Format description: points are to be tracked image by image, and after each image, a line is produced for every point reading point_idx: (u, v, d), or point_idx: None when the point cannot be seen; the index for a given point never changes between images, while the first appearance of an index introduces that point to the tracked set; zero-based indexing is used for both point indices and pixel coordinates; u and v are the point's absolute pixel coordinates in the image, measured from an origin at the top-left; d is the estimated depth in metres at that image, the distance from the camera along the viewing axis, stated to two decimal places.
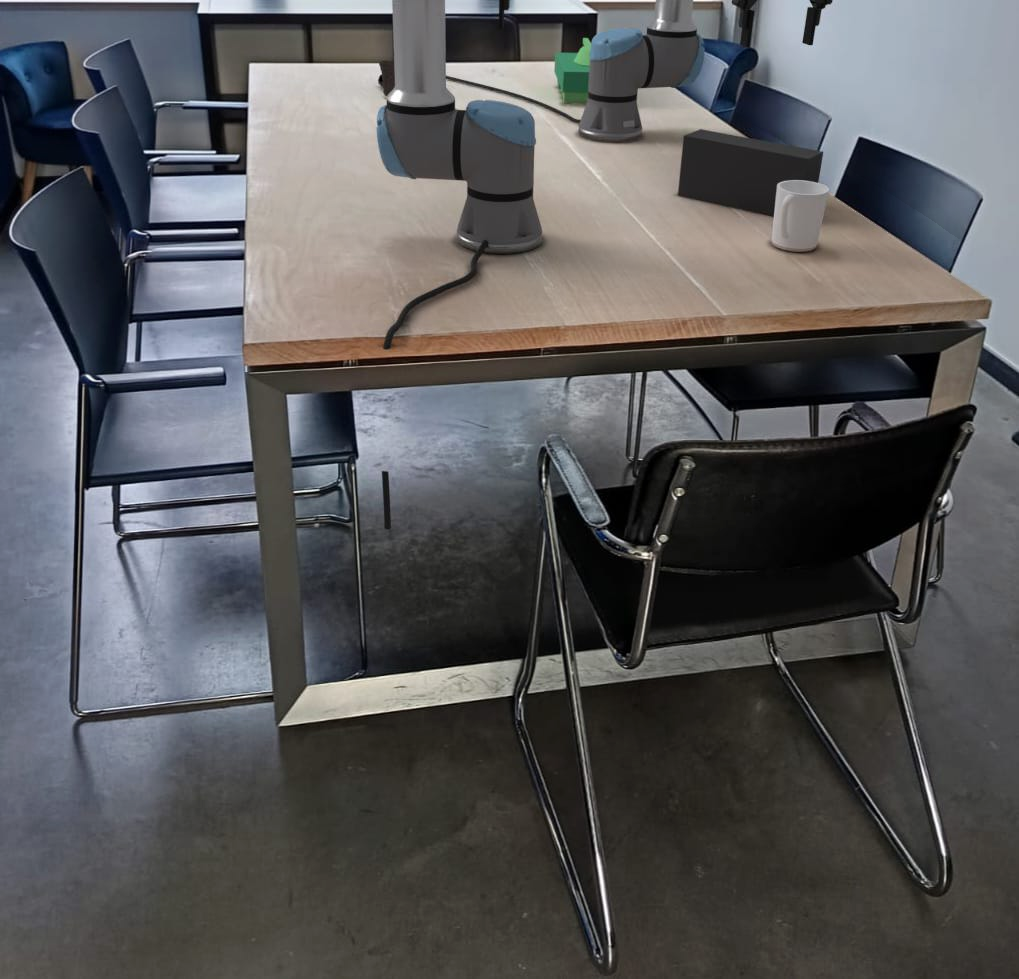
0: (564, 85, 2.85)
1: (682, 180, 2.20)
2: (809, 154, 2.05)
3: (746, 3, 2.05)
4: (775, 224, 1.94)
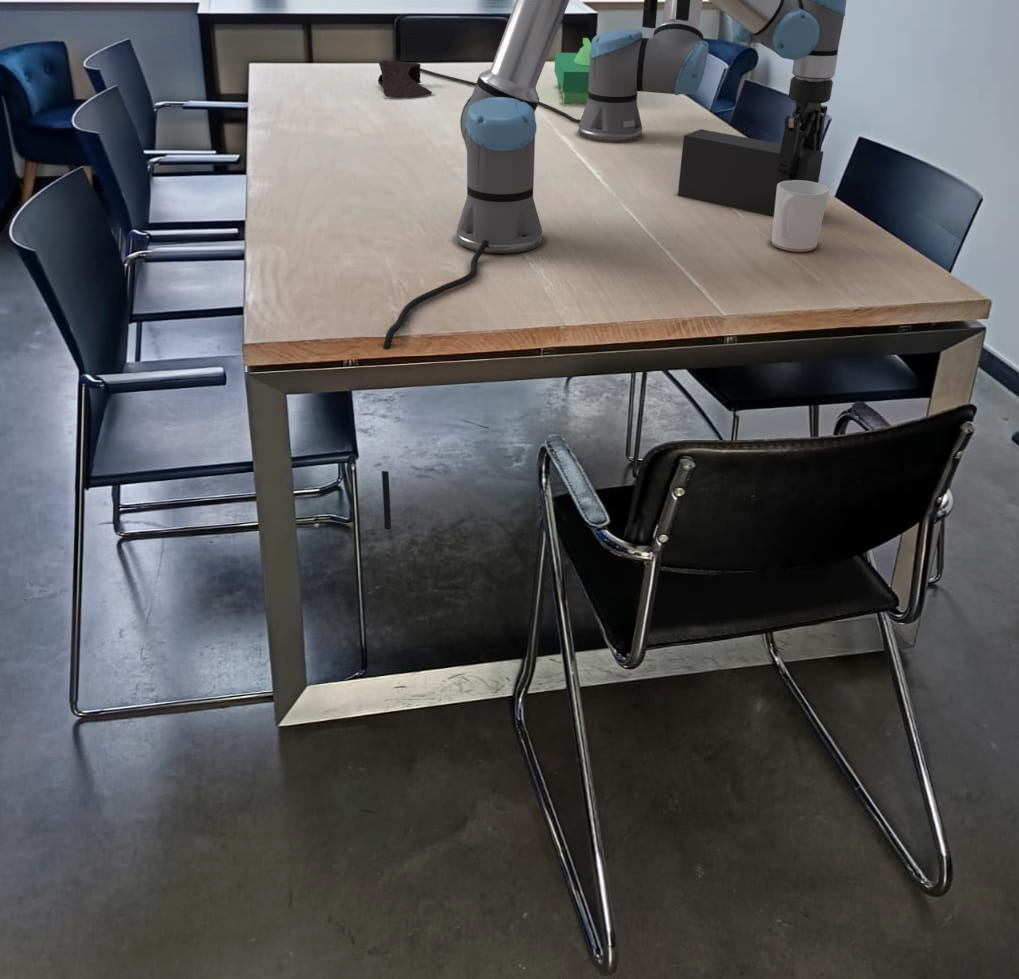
0: (564, 85, 2.85)
1: (682, 180, 2.20)
2: (809, 154, 2.05)
3: None
4: (775, 224, 1.94)
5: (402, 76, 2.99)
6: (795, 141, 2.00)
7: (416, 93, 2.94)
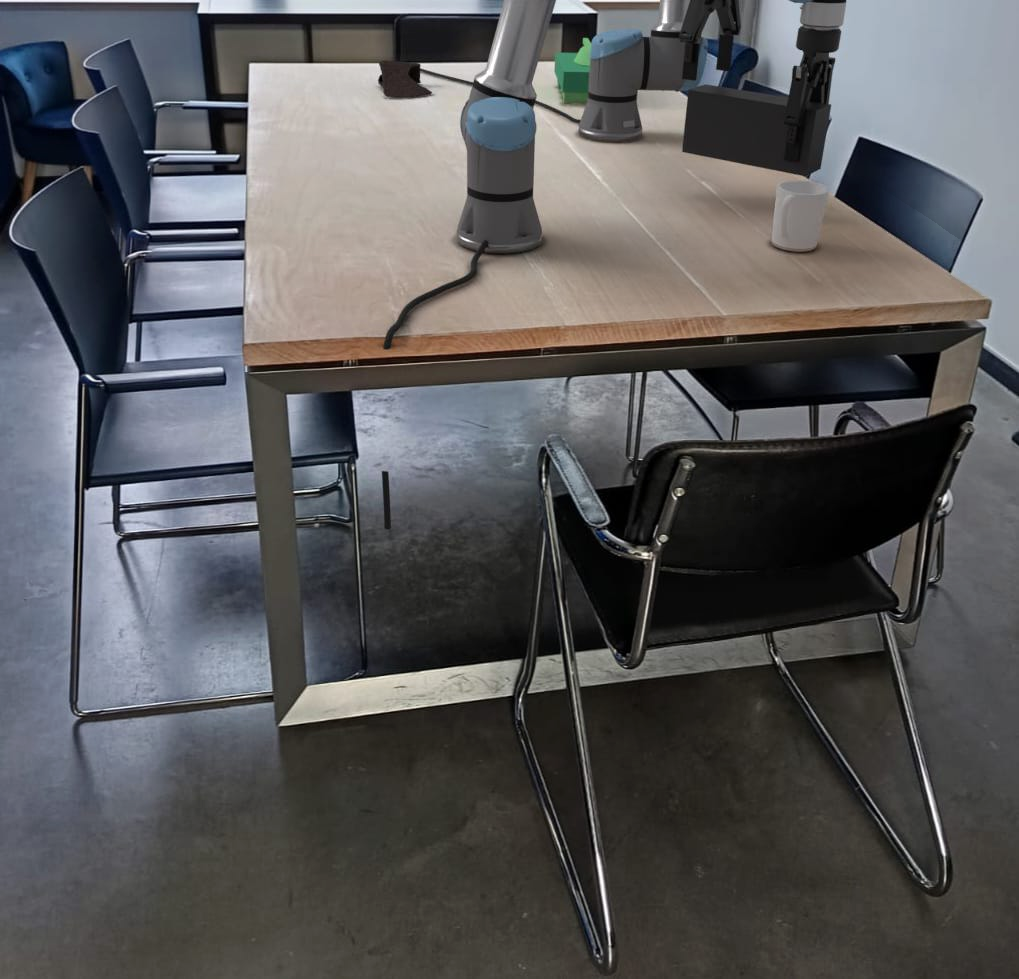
0: (564, 85, 2.85)
1: (686, 136, 2.15)
2: (817, 106, 2.00)
3: None
4: (775, 224, 1.94)
5: (402, 76, 2.99)
6: (803, 92, 1.95)
7: (416, 93, 2.94)
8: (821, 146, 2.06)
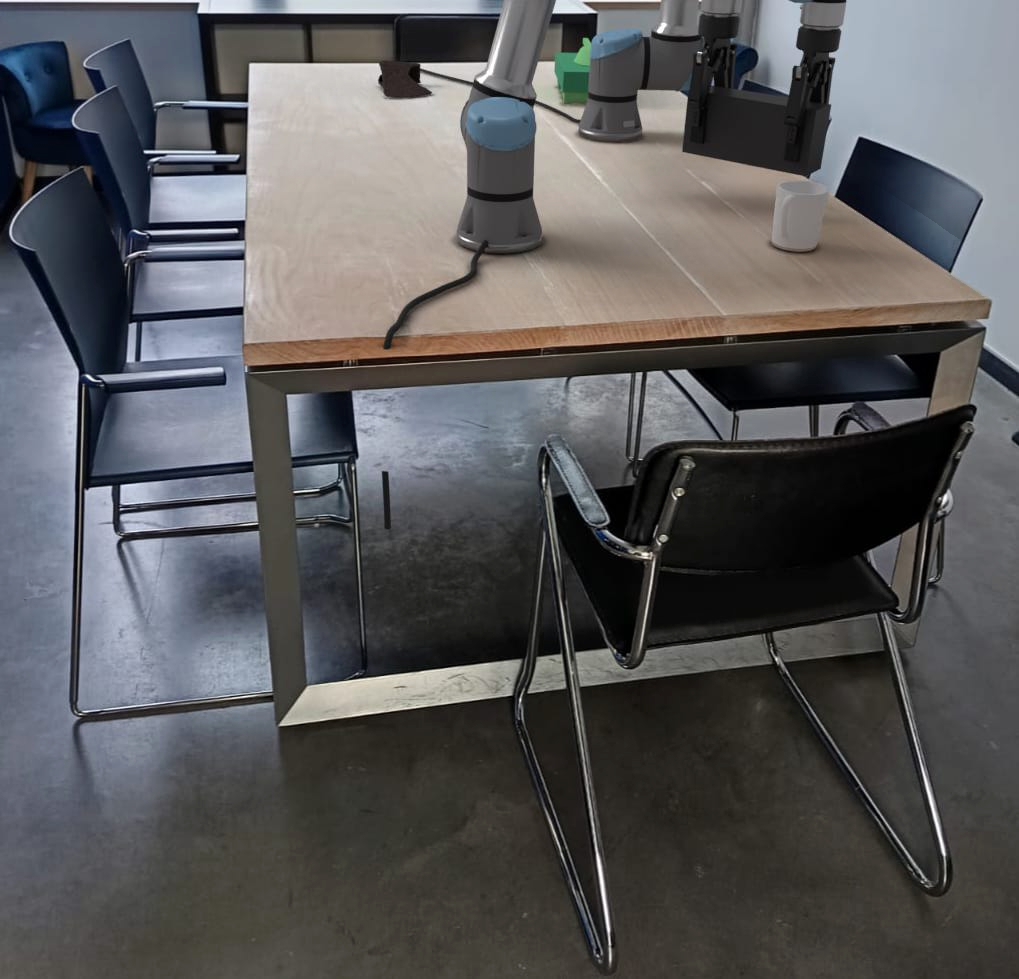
0: (564, 85, 2.85)
1: (687, 136, 2.15)
2: (817, 106, 2.00)
3: None
4: (775, 224, 1.94)
5: (402, 76, 2.99)
6: (803, 92, 1.95)
7: (416, 93, 2.94)
8: (821, 146, 2.06)
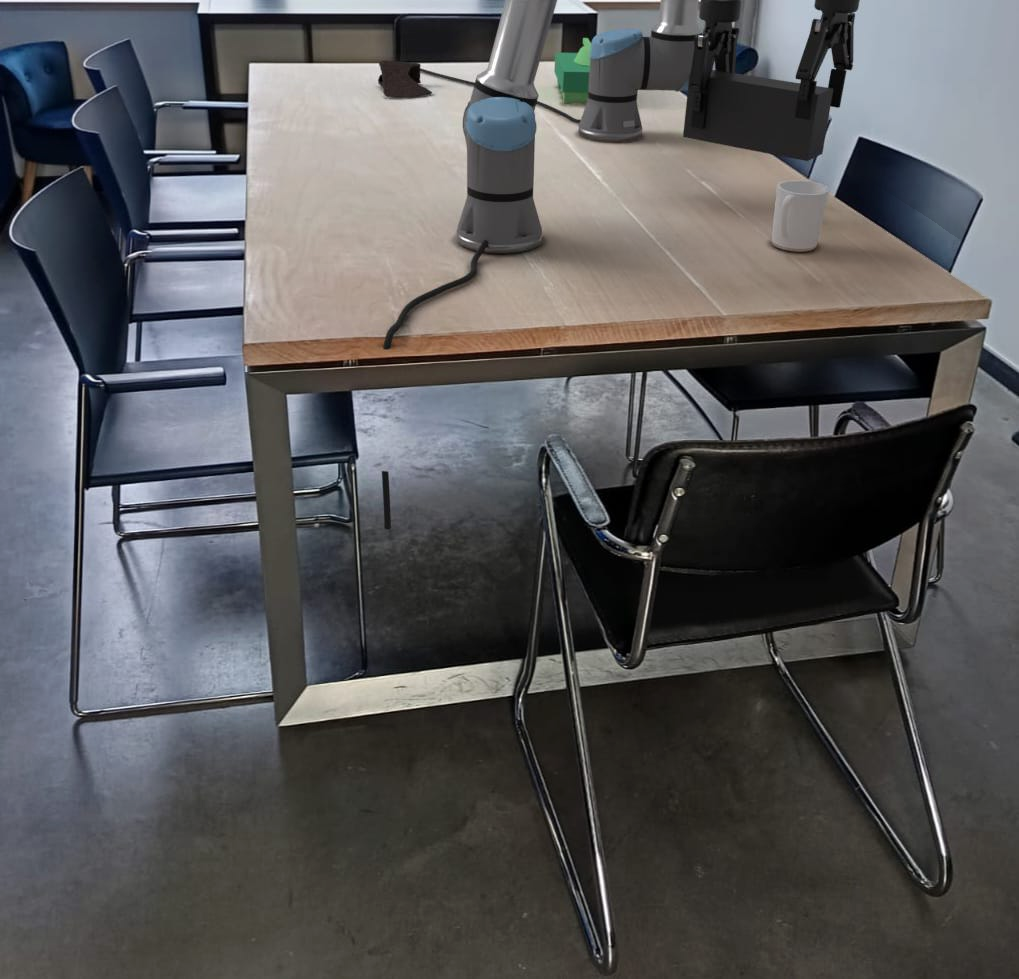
0: (564, 85, 2.85)
1: (687, 121, 2.14)
2: (819, 90, 1.99)
3: None
4: (775, 224, 1.94)
5: (402, 76, 2.99)
6: (819, 46, 1.89)
7: (416, 93, 2.94)
8: (823, 131, 2.04)
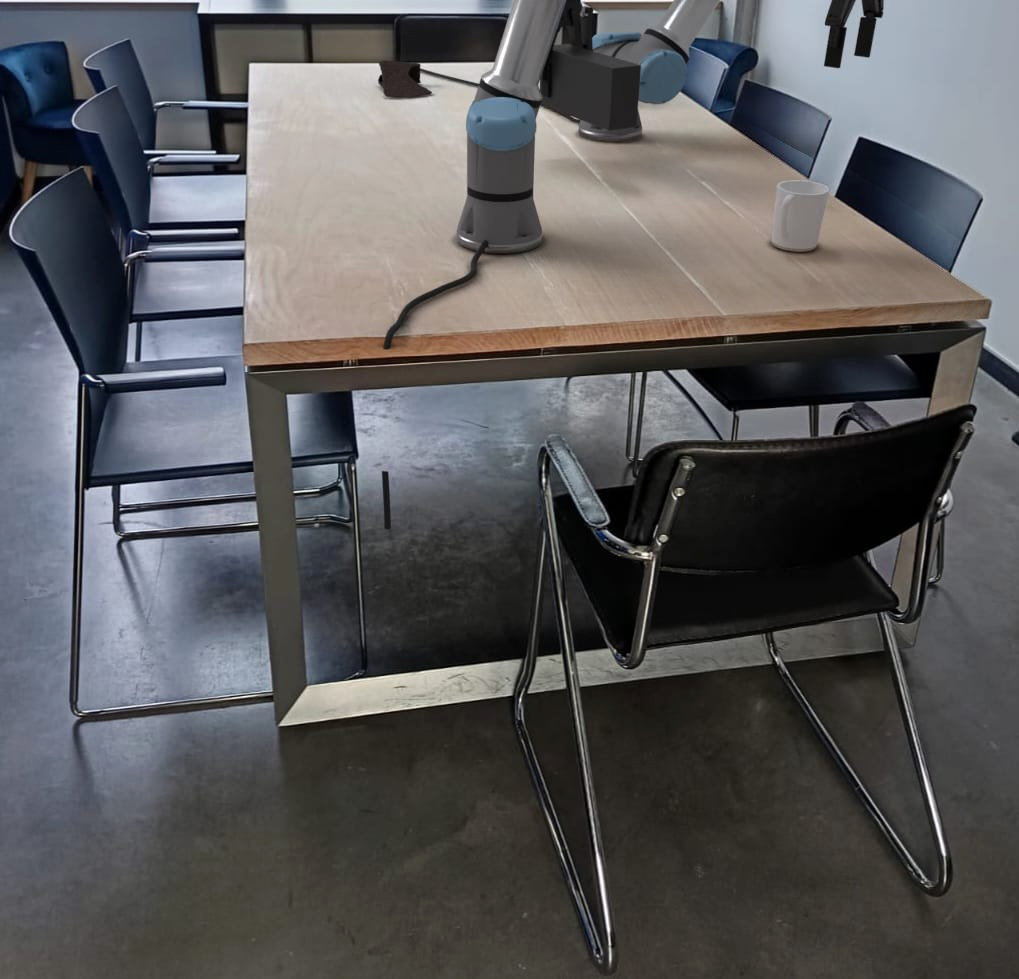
0: None
1: None
2: (621, 65, 2.16)
3: None
4: (775, 224, 1.94)
5: (402, 76, 2.99)
6: None
7: (416, 93, 2.94)
8: (632, 105, 2.20)
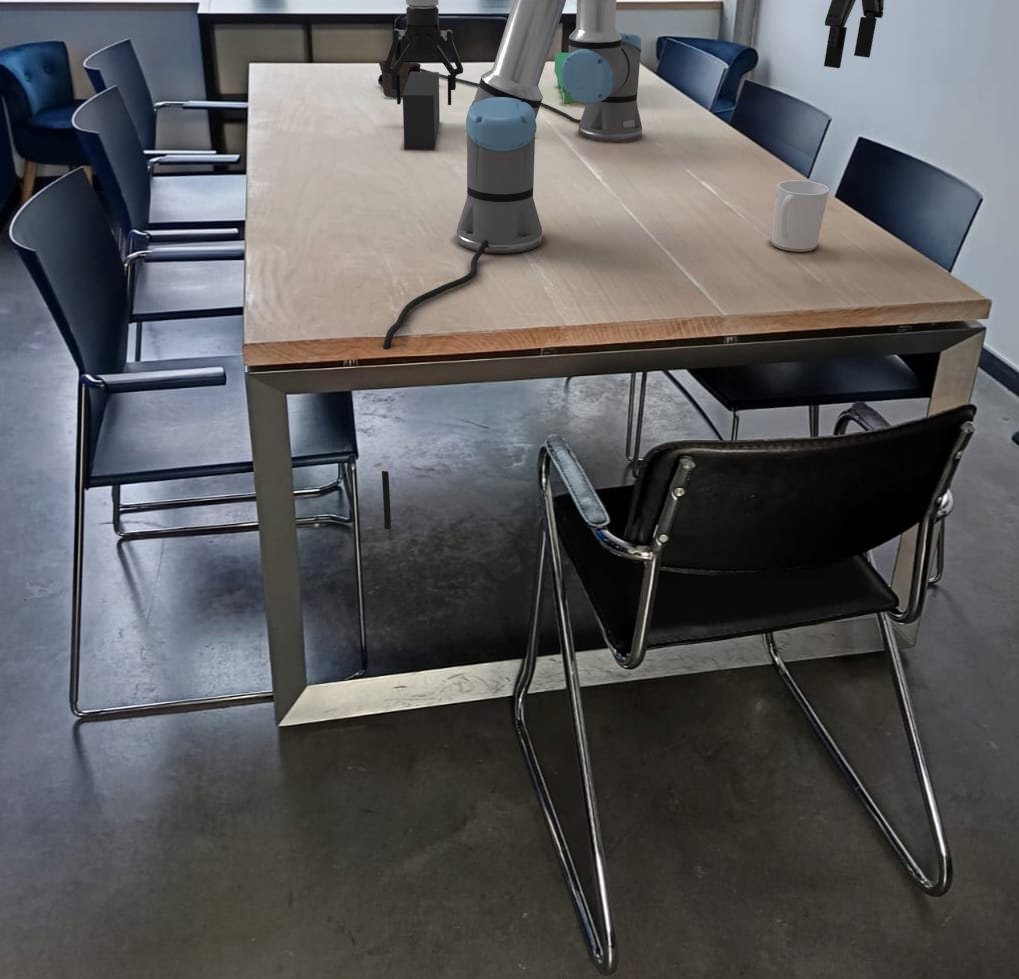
0: None
1: None
2: (416, 94, 2.43)
3: None
4: (775, 224, 1.94)
5: (402, 76, 2.99)
6: None
7: None
8: (428, 130, 2.46)
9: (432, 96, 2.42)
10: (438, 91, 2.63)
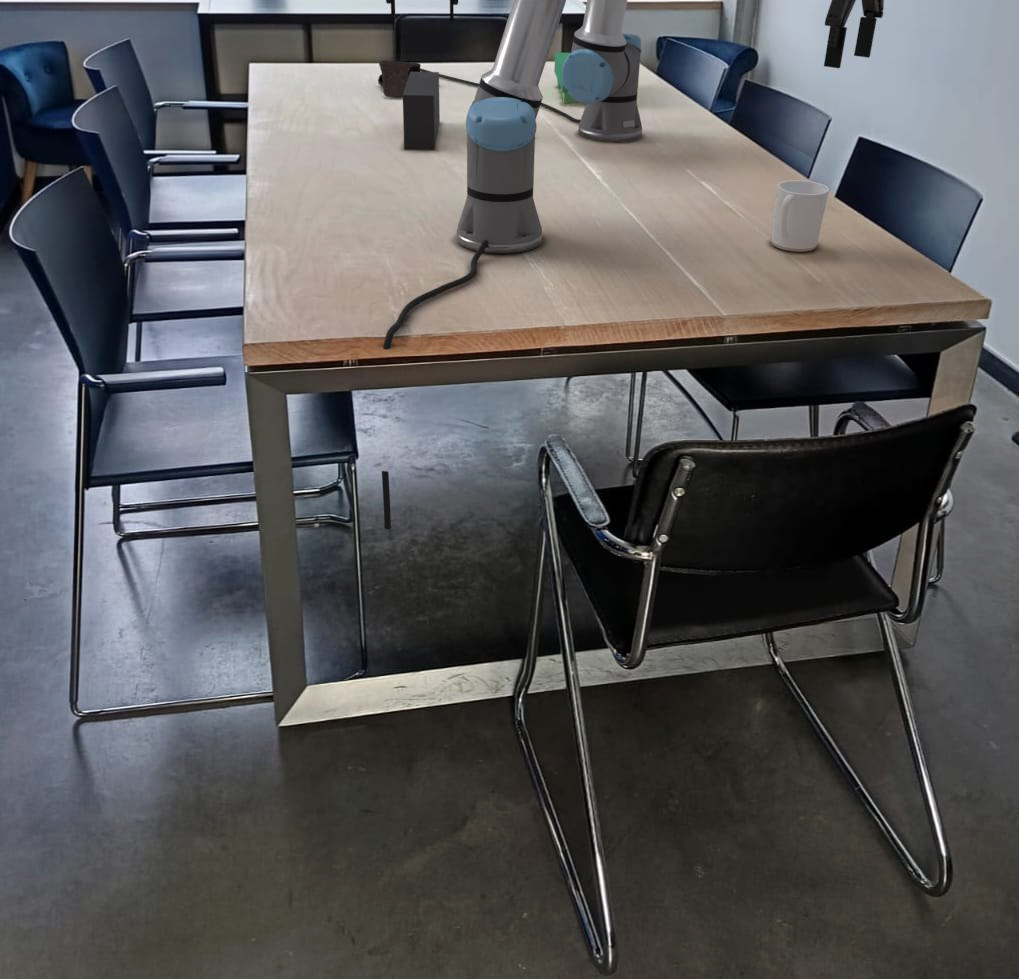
0: None
1: None
2: (416, 94, 2.43)
3: None
4: (775, 224, 1.94)
5: (402, 76, 2.99)
6: None
7: None
8: (428, 130, 2.46)
9: (432, 96, 2.42)
10: (438, 91, 2.63)
